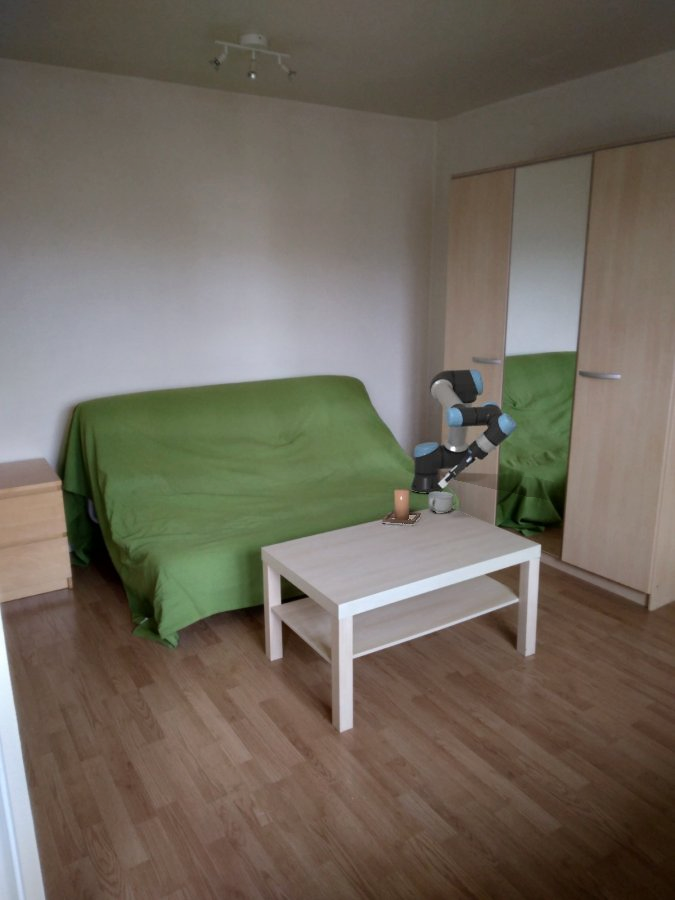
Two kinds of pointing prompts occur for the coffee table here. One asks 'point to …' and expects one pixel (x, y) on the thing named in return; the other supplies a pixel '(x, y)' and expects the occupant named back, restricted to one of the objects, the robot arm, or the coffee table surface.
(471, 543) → the coffee table surface
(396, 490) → the pillar candle
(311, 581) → the coffee table surface
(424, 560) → the coffee table surface
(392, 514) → the tray
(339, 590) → the coffee table surface
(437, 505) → the teacup
